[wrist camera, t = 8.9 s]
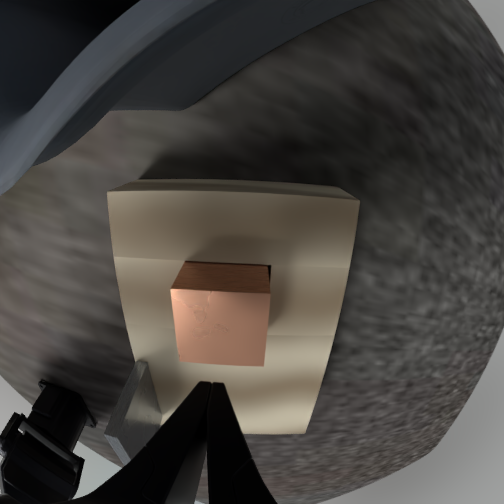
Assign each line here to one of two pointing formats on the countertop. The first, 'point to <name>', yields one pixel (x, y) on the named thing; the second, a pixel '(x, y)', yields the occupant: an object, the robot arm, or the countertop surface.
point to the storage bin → (125, 61)
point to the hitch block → (245, 252)
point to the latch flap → (134, 414)
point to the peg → (221, 313)
